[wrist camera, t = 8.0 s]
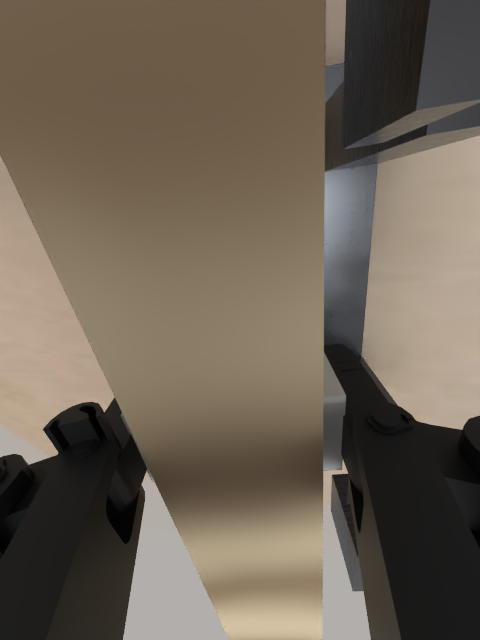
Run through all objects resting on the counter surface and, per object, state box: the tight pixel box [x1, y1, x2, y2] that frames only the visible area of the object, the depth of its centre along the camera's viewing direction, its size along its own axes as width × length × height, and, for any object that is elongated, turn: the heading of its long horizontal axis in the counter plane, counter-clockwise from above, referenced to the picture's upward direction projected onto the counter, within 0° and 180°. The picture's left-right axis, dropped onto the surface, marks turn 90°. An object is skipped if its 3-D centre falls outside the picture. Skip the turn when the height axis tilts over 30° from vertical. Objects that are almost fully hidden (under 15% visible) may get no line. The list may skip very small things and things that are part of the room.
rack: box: [324, 0, 480, 591], centre depth 12 cm, size 22×7×13 cm, turn 8°
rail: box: [0, 0, 326, 640], centre depth 8 cm, size 24×4×5 cm, turn 8°
